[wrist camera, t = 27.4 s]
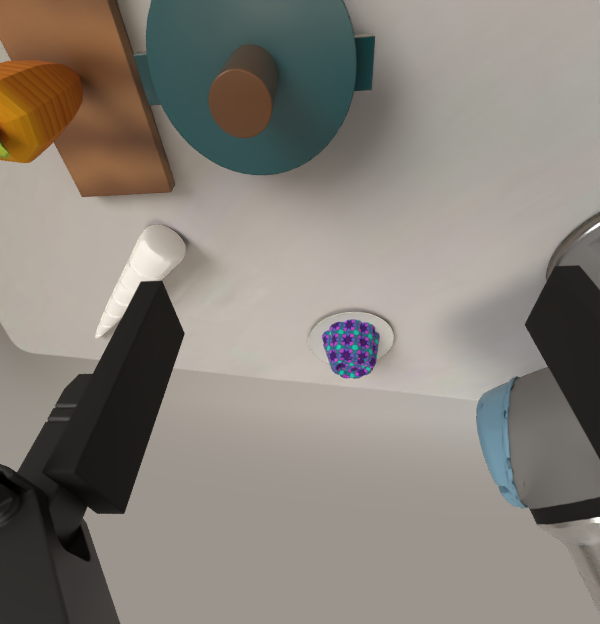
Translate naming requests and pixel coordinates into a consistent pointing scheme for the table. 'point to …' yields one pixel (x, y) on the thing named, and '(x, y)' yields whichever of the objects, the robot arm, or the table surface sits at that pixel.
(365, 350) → the pudding
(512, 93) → the table surface
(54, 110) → the carrot
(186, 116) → the lid
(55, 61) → the board
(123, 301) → the unicorn horn
